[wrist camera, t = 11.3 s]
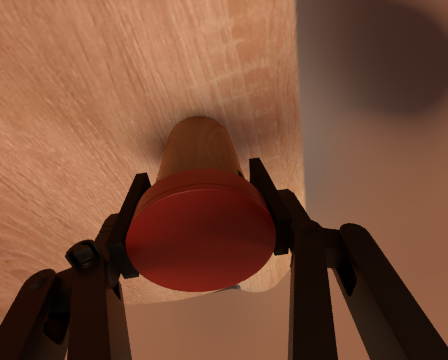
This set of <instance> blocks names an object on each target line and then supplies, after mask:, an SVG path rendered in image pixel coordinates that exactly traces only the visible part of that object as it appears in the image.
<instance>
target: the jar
mask: <svg viewBox="0 0 448 360" xmlns="http://www.w3.org/2000/svg"><path fill="white" fill-rule="evenodd" d="M199 168H208V169H218V170H223V171H227V172H231V173H233V174H236V175H238V176H240V177H242V178H244V179H245V176H244V174H243V171H242V168H241V165H240V162H239V160H238V157H237V154H236V151H235V149H234V146H233V143H232V140H231V138H230V135H229V133H228V132H227V130H226V129H225V128H224V127H223V126H222V125H221V124H220V123H219V122H217V121H215V120H213V119H211V118H207V117H191V118H188V119H185V120H183V121H181V122H180V123H178V124H177V125H176V126H175V127H174V128H173V129H172V130H171V132H170V134H169V136H168V139H167V143H166V146H165V150H164V153H163V157H162V160H161V164H160V167H159V171H158V175H157V178H156V182H155V183H157V182H158V181H160V180H161V179H163V178H165V177H167V176H169V175H171V174H174V173H177V172H180V171H185V170H190V169H199ZM245 180H246V179H245Z"/></svg>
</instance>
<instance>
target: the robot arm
mask: <svg viewBox="0 0 448 360" xmlns="http://www.w3.org/2000/svg"><path fill="white" fill-rule="evenodd" d="M249 167H250V183H251V184H252V185H253V186H254V187H255V188H256V189H257V190H258V191H259V192H260V194H261V195H262V197H263V199H264V201H265V203H266V205H267V208H268V210H269V212H270V215H271V217H272V219H273V222H274V224H275V228H276V244H275V248H274V251H273V252H274V255H275V256H277V255H283V254H288V250H289V249H290V251H291V253H292V256H291V264H290V267H291V279H290V280H291V281H290V310H289V341H288V360H338V356H337V348H336V339H335V331H334V322H333V313H332V305H331V298H330V297H331V296H330V288H329V280H328V272H327V268H332V270H333V272H334V275H335V277H336V280H337V282H338V284H339V287H340V289H341V291H342V294H343V296H344V298H345V301H346V303H347V306H348V308H349V310H350V313H351V315H352V317H353V320H354V322H355V324H356V327H357V329H358V332H359V334H360V336H361V339H362V341H363V343H364V346H365V348H366V351H367V353H368V355H369V358H370V360H448V347H447V345H446V344H445V342H444V341H443V339H442V338H441V337H440V335H439V334H438V332H437V331H436V329H435V328H434V326H433V325H432V323H431V322H430V321H429V319H428V318H427V316H426V315H425V313H424V312H423V310H422V309H421V307H420V306H419V305H418V303H417V302H416V300H415V299H414V297H413V296H412V294H411V293H410V292H409V290H408V289H407V287H406V286H405V284H404V283H403V281H402V280H401V278H400V277H399V276H398V274H397V273H396V271H395V270H394V268H393V267H392V265H391V264H390V262H389V261H388V259H387V258H386V257H385V255H384V254H383V252H382V251H381V249H380V248H379V246H378V245H377V244H376V242H375V241H374V239H373V238H372V236H371V235H370V234H369V232H368V231H367V230H366V229H365V228H363V227H362V226H360V225H357V224H353V223H347V224H343V225H342V226H341V227H340V230H336V229H327V228H323V227H321V226H320V225H319V224H318V223H317V222H315V221H313V220H311V219H310V218H309V216H308V215H307V213H306V211H305V210H304V208H303V207H302V205H301V204H300V202H299V200H297V197H296V196H295V194H294V193H293V192H291V191H290V190H289V189H283V190H277V189H276V187H275V186H274V184H273V182H272V180H271V178H270V176H269V174H268V173H267V171H266V169H265V167H264V165H263V163H262V162H261V160H260V158H252V159H249ZM150 187H151V184H150V181H149V178H148V175H147V173H140V174H136V176H135V178H134V180H133V183H132V185H131V187H130V189H129V192H128V194H127V196H126V199H125V201H124V203H123V205H122V208H121V210H120V212H119V213H117V214H111V215H110V216H109V217H108V218H107V219H106V220H105V221H104V223H103V225H102V228H101V229H100V231H99V234H98V235H97V237H96V239H95V241H93V240H83V241H80V242H78V243H76V244H75V245H73V246H72V247H71V248H70V249H69V250H68V251H67V252H66V255H65V258H66V259H67V260H68V262H69V263H70V264H71V266H72V267H71V268H69V269H67V270H64V271H61V272H59V273H56V272H55V271H54V270H52V269H44V270H41V271H39V272H37V273H35V274H34V275H32V276H31V277H30V278H29V279H27V280H26V282H25V283H24V284H23V286H22V287H21V289H20V291H19V293H18V295H17V296H16V298H15V300H14V302H13V304H12V305H11V307H10V309H9V311H8V313H7V314H6V316H5V318H4V320H3V322H2V323H1V325H0V360H64V359H65V356H66V352H67V349H68V355H67V360H132V357H131V350H130V343H129V337H128V329H127V322H126V315H125V308H124V301H123V294H122V287H121V284H120V282H119V277H120V274H122V275H123V277H124V279H128V278H134V277H139V272H138V271H137V270H136V269H135V268H134V267H133V265H132V263H131V261H130V259H129V257H128V255H127V252H126V236H127V232H128V229H129V226H130V223H131V221H132V218H133V215H134V212H135V209H136V207H137V204H138V202H139V200H140V199H141V197H142V196H143V195H144V193H145V192H146V191H147V190H148V189H149V188H150Z"/></svg>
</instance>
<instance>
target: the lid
mask: <svg viewBox="0 0 448 360" xmlns="http://www.w3.org/2000/svg"><path fill="white" fill-rule="evenodd" d="M275 244H276V228H275V224H274V222H273V219H272V217H271V215H270V212H269V210H268V208H267V205H266V203H265V201H264V199H263V197H262V195H261V194H260V192H259V191H258V190H257V189H256V188H255V187H254V186H253V185H252V184H251V183H250V182H248V181H247V180H245V179H244V178H242V177H240V176H238V175H236V174H233V173H231V172H227V171H223V170H218V169H208V168H199V169H190V170H185V171H180V172H177V173H174V174H171V175H169V176H167V177H165V178H163V179H161V180H160V181H158V182H157V183H155V184H154V185H153V186H151V187H150V188H149V189H148V190H147V191H146V192H145V193H144V195H143V196H142V197H141V199H140V200H139V202H138V204H137V207H136V209H135V212H134V215H133V218H132V221H131V223H130V226H129V229H128V232H127V236H126V252H127V255H128V257H129V259H130V261H131V263H132V265H133V267H134V268H135V269H136V270H137V271H138V272H139V273H140V274H141V275H142V276H143V277H145V278H146V279H148V280H149V281H151V282H153V283H155V284H157V285H160V286H162V287H165V288H169V289H173V290H178V291H186V292H206V291H214V290H219V289H223V288H226V287H230V286H233V285H235V284H238V283H240V282H242V281H244V280H246V279H248V278H249V277H251V276H252V275H254V274H255V273H257V272H258V271H259V270H260V269H261V268H262V267H263V266H264V265H265V264H266V263H267V261H268V260H269V259H270V257H271V255H272V253H273V251H274V248H275Z"/></svg>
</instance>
